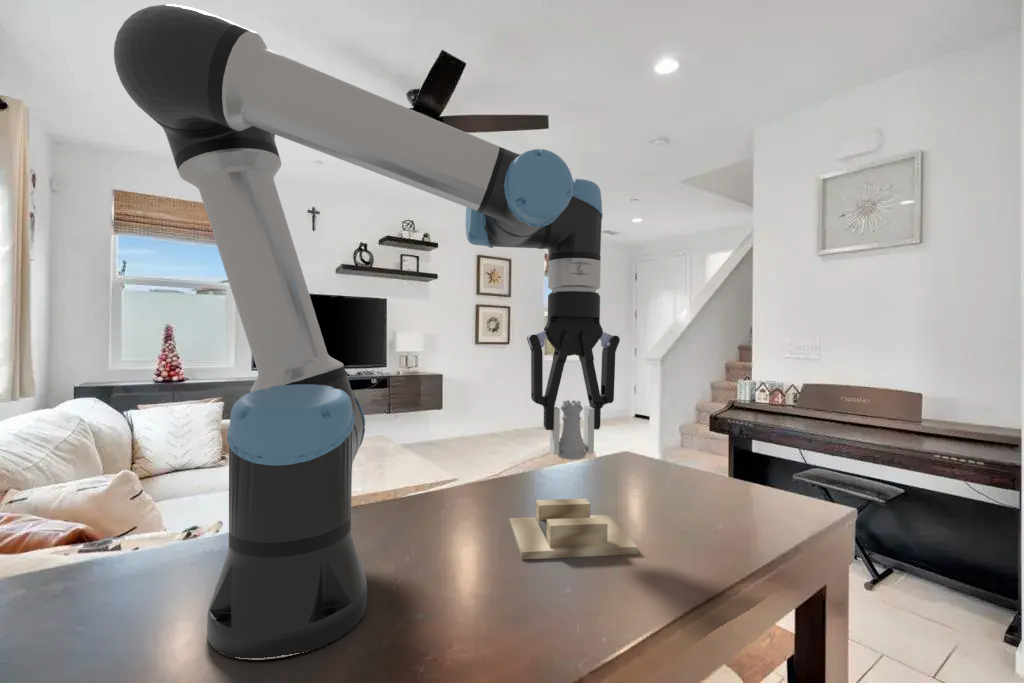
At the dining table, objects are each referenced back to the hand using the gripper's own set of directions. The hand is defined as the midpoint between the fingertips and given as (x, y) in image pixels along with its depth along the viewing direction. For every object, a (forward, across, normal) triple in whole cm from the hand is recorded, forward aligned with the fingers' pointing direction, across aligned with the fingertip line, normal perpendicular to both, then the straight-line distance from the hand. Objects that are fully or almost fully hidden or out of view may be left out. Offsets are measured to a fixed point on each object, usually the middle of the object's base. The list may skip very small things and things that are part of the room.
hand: (571, 451), depth 72 cm
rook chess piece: (+1, 0, 0) cm, 1 cm away
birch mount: (+13, 0, 0) cm, 13 cm away
